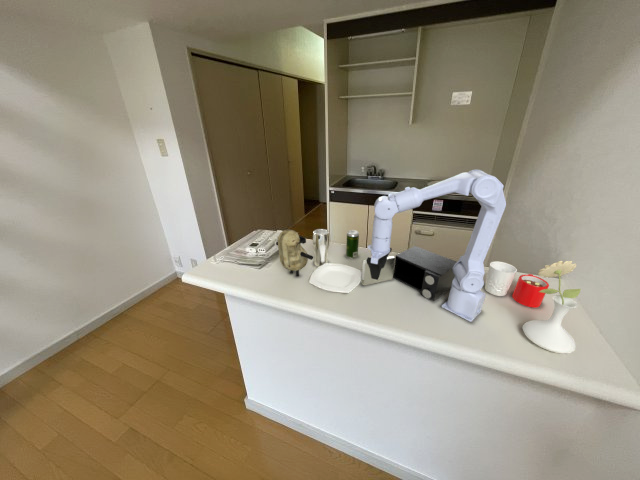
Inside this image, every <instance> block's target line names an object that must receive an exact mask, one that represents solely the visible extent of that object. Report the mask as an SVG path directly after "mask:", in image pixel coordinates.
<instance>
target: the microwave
mask: <svg viewBox="0 0 640 480" xmlns="http://www.w3.org/2000/svg"><path fill="white" fill-rule="evenodd" d="M457 262H458V261H456V260H454V259H451V258H448V257H446V256H443V255H440V254H438V253H435V252H432V251H430V250H427V249H424V248H422V247H419V246H416V245H413V246H412V247H410V248H408V249H406V250H404V251H402V252H400V253H398V254H395V262H394V270H393V278H392V279H395V280H396V281H397V282H400V283H403V284H404V285H406V286H408V287H410V288H412V289H413V290H416V291H418V292H420V295H421V296H423V297H424V298H426V299H428V300H430V301H432V302H435V301H436V300H438V299H439V298H440V297H441V296H443V295H444V294H446V293H447V292H448V291H450V289H451V285H452V281H453V279H454V278H455V274H454V273H453V266H454V265H455V264H456V263H457Z"/></svg>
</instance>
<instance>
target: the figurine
mask: <svg viewBox="0 0 640 480" xmlns="http://www.w3.org/2000/svg"><path fill="white" fill-rule="evenodd" d="M306 243H307V239H306V237H305V236H302V235H299V233H298V232H297V231H295V230H293V229H284V230H282V231H281V232H280V233H279V235H278V237H277V241H276V243H275V245H276V246H277V247H278V255H279V256H278V257H279V262H280V264H281V265H282V267H283V268H285V269H286V270H288V271H289V273H290V274H291V275H292V274H294V271H295V277H296V278H297V277H298V278H299V277H300V271H301V269H303V268H305V266H306V265H307V263H308V261H309V260H311V261H313V259H314V256H313V255H311V254H310V253H309V254H308V253H307V251H306V250H305V248H304V247H303V246H302V245H304V244H306Z"/></svg>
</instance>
